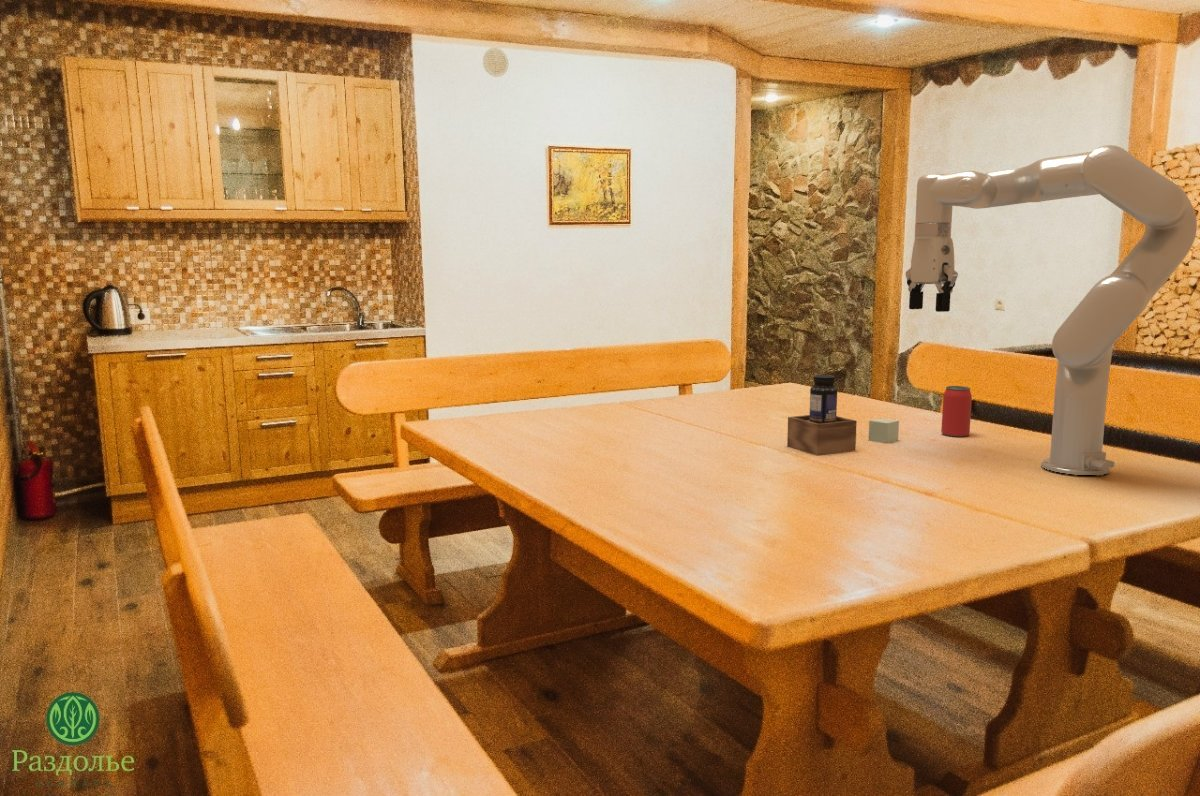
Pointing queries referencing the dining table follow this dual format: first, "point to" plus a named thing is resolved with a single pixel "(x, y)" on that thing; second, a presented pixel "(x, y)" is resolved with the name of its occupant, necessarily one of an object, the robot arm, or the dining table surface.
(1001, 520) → the dining table surface
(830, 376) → the pill bottle
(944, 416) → the beer can
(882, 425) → the sage cube
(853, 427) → the walnut open box
